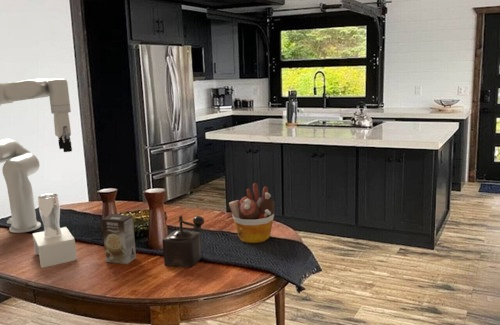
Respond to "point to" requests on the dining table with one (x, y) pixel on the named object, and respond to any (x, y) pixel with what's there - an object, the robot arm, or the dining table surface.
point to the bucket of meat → (253, 216)
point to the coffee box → (119, 238)
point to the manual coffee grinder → (183, 245)
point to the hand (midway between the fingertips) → (65, 150)
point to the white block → (55, 248)
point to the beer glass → (50, 215)
